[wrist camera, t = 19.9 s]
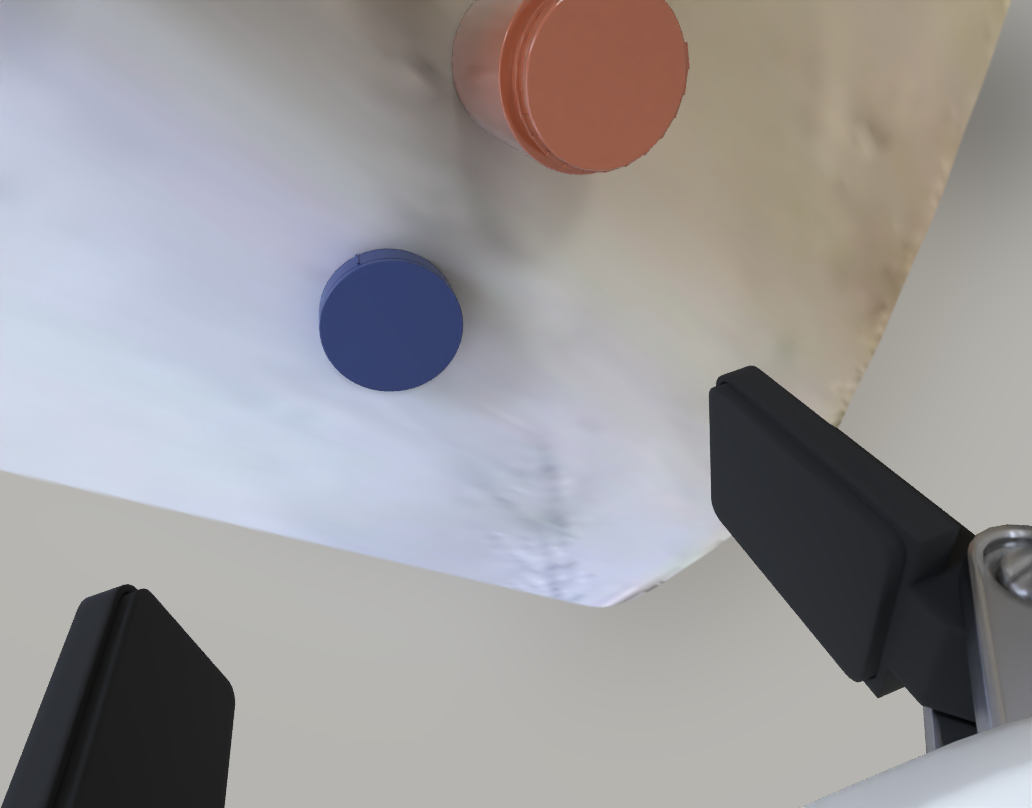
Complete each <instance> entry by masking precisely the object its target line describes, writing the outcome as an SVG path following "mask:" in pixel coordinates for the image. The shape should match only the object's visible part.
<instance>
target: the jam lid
mask: <svg viewBox="0 0 1032 808" xmlns="http://www.w3.org/2000/svg"><path fill="white" fill-rule="evenodd" d="M319 330H320V338H321V343H322V346H323V349H324V351H325V353H326V355H327V357H328V359H329V360H330V362H331V363H332V364H333V366H334V367H335V368H336V369H337V370H338V371H339V372H340V373H341V374H342V375H344V376H345V377H346V378H347V379H349V380H351V381H352V382H354V383H356V384H358V385H361V386H363V387H366V388H369V389H373V390H378V391H402V390H407V389H411V388H415V387H417V386H420V385H422V384H424V383H426V382H428V381H430V380H432V379H433V378H434V377H436V376H437V375H438V374H440V373H441V372H442V371H443V370H444V369H445V368H446V367H447V366H448V364H449V363H450V362H451V360H452V359H453V357H454V356H455V354H456V352H457V350H458V348H459V345H460V342H461V338H462V333H463V318H462V312H461V308H460V305H459V303H458V300H457V298H456V296H455V294H454V292H453V290H452V288H451V286H450V285H449V283H448V281H447V279H446V278H445V277H444V275H443V274H442V273H441V272H440V270H439V269H438V268H437V267H436V266H434V265H433V264H432V263H430V262H429V261H428V260H426V259H424V258H423V257H421V256H418V255H416V254H414V253H411V252H407V251H404V250H397V249H379V250H373V251H369V252H365V253H363V254H360V255H358V254H356V257H354V258H352V259H350V260H348V261H347V262H346V263H344V264H343V265H342V266H341V267H340V268H338V269H337V270H336V271H335V273H334V274H333V275H332V276H331V278H330V279H329V281H328V282H327V284H326V286H325V288H324V291H323V293H322V296H321V301H320V308H319Z"/></svg>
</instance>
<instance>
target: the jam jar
mask: <svg viewBox="0 0 1032 808" xmlns="http://www.w3.org/2000/svg"><path fill="white" fill-rule="evenodd" d="M452 69H453V77H454V83H455V87H456V90H457V93H458V96H459V98H460V100H461V102H462V104H463V106H464V108H465V109H466V111H467V112H468V114H469V115H470V116H471V117H472V119H473V120H474V121H475V122H476V123H477V124H478V125H479V126H481V127H482V128H483V129H485V130H486V131H487V132H489V133H491V134H492V135H494V136H496V137H497V138H499V139H501V140H502V141H504V142H506V143H507V144H509V145H511V146H512V147H514V148H516V149H517V150H519V151H521V152H522V153H524V154H525V155H527V156H529V157H530V158H532V159H534V160H535V161H537V162H539V163H540V164H542V165H544V166H546V167H548V168H550V169H552V170H555V171H558V172H562V173H566V174H575V175H583V174H592V173H596V172H605V173H606V172H609V171H612V170H615V169H618V168H621V167H624V166H625V167H626V166H628V165H629V164H631V163H632V162H634V161H635V160H637V159H638V158H640V157H641V156H643V155H645V154H646V153H647V152H648V151H649V150H650V149H651V148H652V147H653V146H654V145H655V144H656V143H657V142H658V140H659V139H662V137H663V136H664V134H665V132H666V131H667V129H668V127H669V126H670V124H671V122H672V120H673V119H674V118H676V115H677V112H678V109H679V106H680V103H681V100H682V97H683V95H685V89H686V81H687V73H688V69H689V57H688V45H687V42H684V39H683V34H682V31H681V28H680V25H679V23H678V20H677V18H676V16H675V15H674V13H673V11H672V9H671V8H670V6H669V5H668V3H667V2H666V1H665V0H475V1H474V2H473V3H472V5H471V6H470V8H469V9H468V10H467V12H466V13H465V15H464V17H463V19H462V20H461V23H460V25H459V27H458V30H457V33H456V37H455V40H454V46H453V52H452Z"/></svg>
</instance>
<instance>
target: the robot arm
mask: <svg viewBox="0 0 1032 808" xmlns="http://www.w3.org/2000/svg"><path fill="white" fill-rule="evenodd" d="M709 419H710V462H711V500H712V505H713V509H714V511H715V513H716V515H717V517H718V518H719V520H720V521H721V522H722V524H723V525H724V526H725V527H726V529H727V530H728V531H729V532H730V533H731V535H732V536H733V537H734V538H735V539H736V541H737V542H738V543H739V544H740V545H741V547H742V548H743V549H744V550H745V552H746V553H747V554H748V555H749V557H750V558H751V559H752V560H753V561H754V563H755V564H756V565H757V566H758V568H759V569H760V570H761V571H762V572H763V574H764V575H765V576H766V577H767V579H768V580H769V581H770V582H771V583H772V585H773V586H774V587H775V588H776V590H777V591H778V592H779V593H780V594H781V596H782V597H783V598H784V599H785V600H786V602H787V603H788V604H789V605H790V607H791V608H792V609H793V610H794V611H795V613H796V614H797V615H798V616H799V618H800V619H801V620H802V621H803V622H804V624H805V625H806V626H807V627H808V628H809V630H810V631H811V632H812V633H813V635H814V636H815V637H816V638H817V640H818V641H819V642H820V643H821V645H822V646H823V647H824V648H825V649H826V651H827V652H828V653H829V654H830V656H831V657H832V658H833V659H834V660H835V662H836V663H837V664H838V665H839V667H840V668H841V669H842V670H843V671H844V672H845V674H846V675H847V676H848V677H849V678H851V679H852V680H853V681H856V682H861V681H864V682H865V684H866V685H867V686H868V687H869V688H870V690H871V691H872V692H873V693H874V694H875V695H876V697H877V698H880V697H882V696H884V695H887V694H889V693H891V692H894V691H896V690H898V689H901V688H903V687H906V689H908V691H909V692H910V693H911V694H912V695H913V696H914V697H915V699H916V700H917V701H918V702H919V703H920V704H921V705H922V706H923V711H924V725H925V739H926V753H927V754H924V755H922V756H920V757H917V758H915V759H912V760H910V761H908V762H905V763H903V764H901V765H898V766H896V767H893V768H891V769H889V770H886V771H884V772H882V773H879V774H877V775H874V776H872V777H870V778H867V779H865V780H862V781H860V782H858V783H856V784H853V785H851V786H848V787H846V788H844V789H842V790H839V791H837V792H835V793H833V794H830V795H828V796H826V797H823V798H821V799H819V800H817V801H814V802H812V803H810V804H808V805H805V806H803V807H801V808H1032V526H1028V525H1008V524H1007V525H1002V526H996V527H990V528H988V529H986V530H984V531H982V532H980V533H979V534H977V535H974V534H973V533H972V532H970V531H969V530H968V529H967V528H965V527H964V526H963V525H961V524H960V523H959V522H957V521H956V520H955V519H954V518H952V517H951V516H950V515H949V514H947V513H946V512H945V511H943V510H942V509H941V508H939V507H938V506H937V505H936V504H934V503H933V502H932V501H930V500H929V499H928V498H927V497H925V496H924V495H923V494H921V493H920V492H919V491H918V490H916V489H915V488H914V487H913V486H911V485H910V484H909V483H907V482H906V481H905V480H903V479H902V478H901V477H900V476H898V475H897V474H896V473H894V472H893V471H892V470H891V469H889V468H888V467H887V466H886V465H884V464H883V463H882V462H880V461H879V460H878V459H876V458H875V457H874V456H873V455H871V454H870V453H869V452H867V451H866V450H865V449H864V448H862V447H861V446H859V445H858V444H857V443H856V442H855V441H853V440H852V439H851V438H849V437H848V436H847V435H846V434H844V433H843V432H842V431H840V430H839V429H838V428H836V427H834V426H833V425H831V424H829V423H828V422H827V421H825V420H824V419H823V418H821V417H820V416H819V415H818V414H816V413H815V412H814V411H812V410H811V409H810V408H809V407H807V406H806V405H805V404H804V403H802V402H801V401H800V400H798V399H797V398H796V397H795V396H793V395H792V394H791V393H789V392H788V391H787V390H786V389H784V388H783V387H782V386H780V385H779V384H778V383H777V382H775V381H774V380H773V379H772V378H770V377H769V376H768V375H766V374H765V373H764V372H763V371H761V370H760V369H759V368H757V367H755V366H747V367H744V368H741V369H739V370H736V371H733V372H730V373H727V374H724V375H721V376H720V377H718V379H717V381H716V387H713V388H711V389H710V392H709ZM234 710H235V697H234V692H233V688H232V686H231V684H230V682H229V681H228V680H227V678H226V677H225V676H224V675H223V674H222V673H221V672H220V670H219V669H218V668H217V667H216V666H215V665H214V664H213V663H212V661H211V660H210V659H209V658H208V657H207V656H206V655H205V653H204V652H203V651H202V650H201V649H200V648H199V647H198V645H197V644H196V643H195V642H194V641H193V640H192V639H191V637H190V636H189V635H188V634H187V633H186V632H185V631H184V629H183V628H182V627H181V626H180V625H179V624H178V623H177V621H176V620H175V619H174V618H173V617H172V616H171V615H170V614H169V612H168V611H167V610H166V609H165V608H164V607H163V605H162V604H161V603H160V602H159V601H158V600H157V599H156V597H155V596H154V595H153V594H152V593H151V592H150V591H149V590H147V589H140V590H137V589H136V588H135V587H134V586H132V585H129V584H127V585H122V586H119V587H116V588H113V589H111V590H108V591H105V592H102V593H99V594H96V595H93V596H91V597H88V598H86V599H84V600H83V601H82V602H81V604H80V605H79V607H78V610H77V612H76V615H75V618H74V620H73V623H72V625H71V628H70V630H69V633H68V635H67V638H66V641H65V643H64V646H63V648H62V651H61V654H60V657H59V659H58V662H57V664H56V666H55V669H54V672H53V674H52V677H51V679H50V682H49V685H48V687H47V690H46V692H45V695H44V698H43V700H42V703H41V705H40V708H39V710H38V713H37V716H36V718H35V721H34V724H33V726H32V729H31V731H30V734H29V737H28V739H27V742H26V744H25V747H24V749H23V752H22V755H21V757H20V760H19V762H18V765H17V767H16V770H15V773H14V775H13V778H12V780H11V783H10V786H9V789H8V791H7V794H6V796H5V799H4V801H3V804H2V807H1V808H224V806H225V797H226V787H227V778H228V768H229V758H230V748H231V739H232V730H233V719H234Z"/></svg>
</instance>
